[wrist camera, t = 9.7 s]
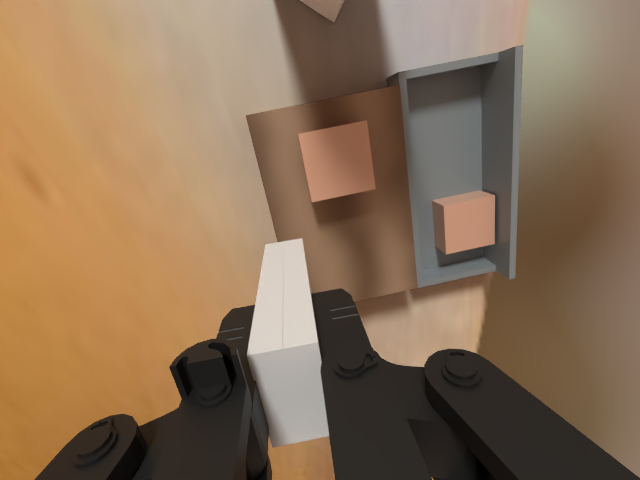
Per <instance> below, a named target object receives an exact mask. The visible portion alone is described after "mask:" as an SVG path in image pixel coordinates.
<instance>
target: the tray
mask: <svg viewBox="0 0 640 480" xmlns="http://www.w3.org/2000/svg"><path fill="white" fill-rule="evenodd" d="M522 62H523V45H521V46H515V47H513V48H510V49H507V50H504V51H501V52H499V53H493V54H488V55H483V56H478V57H473V58H468V59H463V60H458V61H453V62H448V63H443V64H438V65H433V66H428V67H423V68H418V69H413V70H408V71H403V72H398V73H396V74H394V75H392V76H390V77H388V78H387V85H388V87H391V86H396V85H400V92H401V103H402V115H403V126H404V137H405V148H406V160H407V171H408V182H409V193H410V204H411V216H412V227H413V238H414V249H415V261H416V272H417V283H418V288H421V287H426V286H430V285H435V284H439V283H443V282H448V281H452V280H457V279H461V278H466V277H470V276H475V275H479V274H484V273H488V272H493V271H498V272H499V273H500V274H502V275H503V276H505V277H507V278H508V279H513V278H515V263H516V236H517V235H516V234H517V207H518V205H517V204H518V177H519V176H518V175H519V148H520V118H521V91H522ZM479 190H480V191H483V192H486V193H490V194H493V195H495V244H492V245H487V246H483V247H478V248H474V249H469V250H465V251H460V252H455V253H451V254H445V253H444V252H442V251H441V250H440V249H438V248H437V247H436V246H435V240H434V224H433V208H432V200H436V199H441V198H446V197H450V196H455V195H460V194H465V193H469V192H474V191H479Z"/></svg>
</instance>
